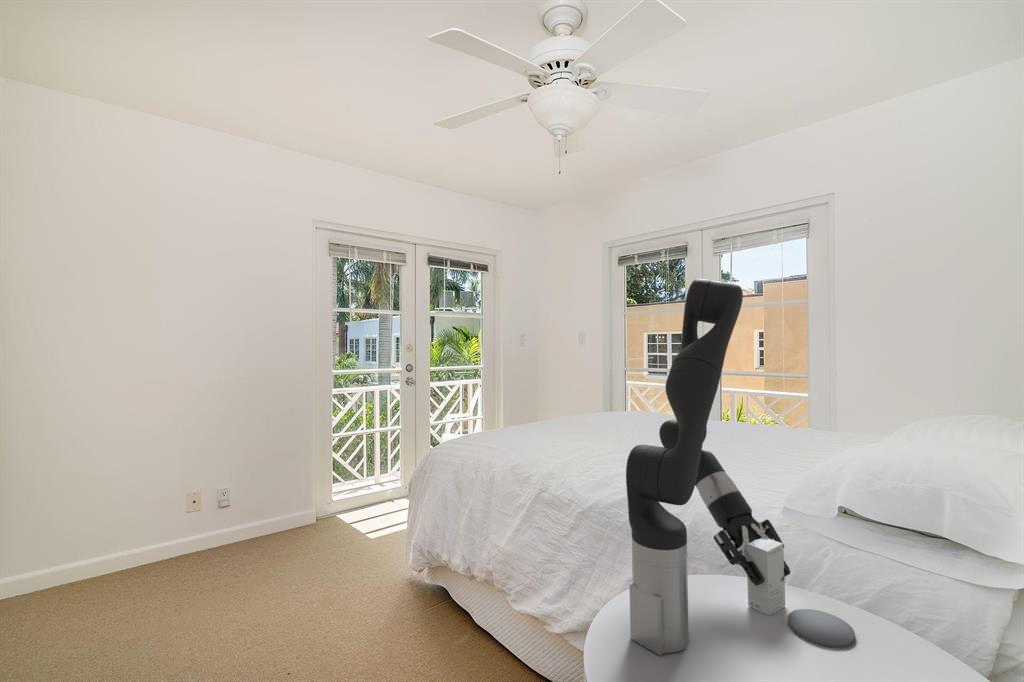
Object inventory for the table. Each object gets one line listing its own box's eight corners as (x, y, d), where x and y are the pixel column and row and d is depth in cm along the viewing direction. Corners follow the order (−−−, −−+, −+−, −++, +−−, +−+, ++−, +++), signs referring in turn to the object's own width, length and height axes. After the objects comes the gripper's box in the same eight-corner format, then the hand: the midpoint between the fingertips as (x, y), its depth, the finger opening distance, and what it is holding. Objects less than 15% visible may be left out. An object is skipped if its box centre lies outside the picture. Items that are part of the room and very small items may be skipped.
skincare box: (769, 617, 90) (768, 552, 90) (746, 606, 94) (745, 543, 94) (786, 606, 94) (785, 543, 93) (763, 595, 97) (762, 535, 97)
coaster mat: (843, 655, 79) (842, 650, 79) (778, 627, 87) (778, 623, 87) (863, 631, 85) (863, 626, 85) (801, 607, 93) (801, 602, 93)
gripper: (706, 495, 98) (758, 580, 87) (757, 484, 103) (812, 563, 93) (687, 513, 102) (734, 595, 92) (737, 502, 108) (787, 578, 98)
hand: (773, 579), depth 92 cm, fingers closed on skincare box, 6 cm apart
